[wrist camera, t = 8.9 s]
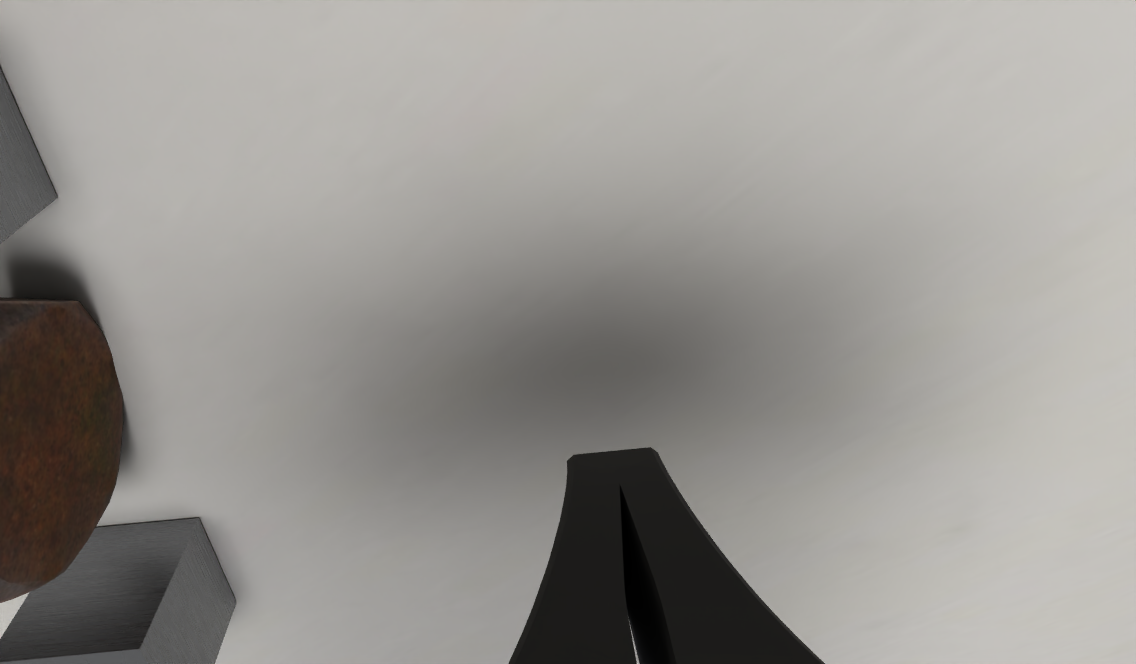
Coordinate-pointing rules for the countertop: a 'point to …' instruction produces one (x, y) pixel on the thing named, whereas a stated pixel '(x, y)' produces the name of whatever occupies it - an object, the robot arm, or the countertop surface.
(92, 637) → the gray stone cubes
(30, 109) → the countertop surface
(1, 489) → the bolt
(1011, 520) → the countertop surface
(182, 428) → the countertop surface
